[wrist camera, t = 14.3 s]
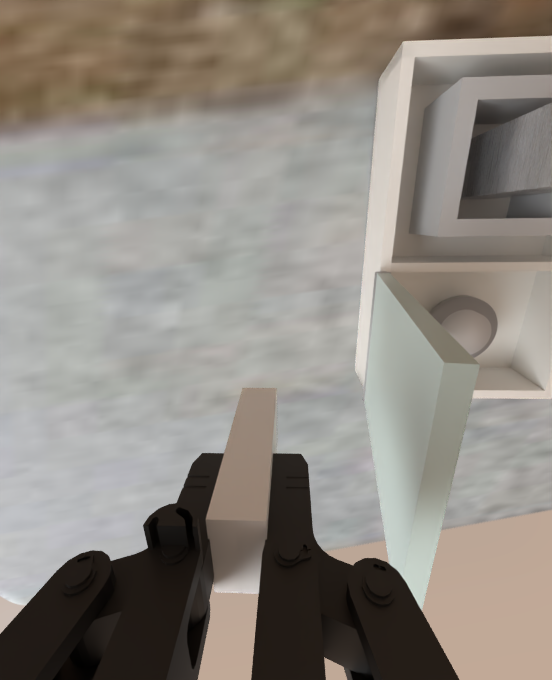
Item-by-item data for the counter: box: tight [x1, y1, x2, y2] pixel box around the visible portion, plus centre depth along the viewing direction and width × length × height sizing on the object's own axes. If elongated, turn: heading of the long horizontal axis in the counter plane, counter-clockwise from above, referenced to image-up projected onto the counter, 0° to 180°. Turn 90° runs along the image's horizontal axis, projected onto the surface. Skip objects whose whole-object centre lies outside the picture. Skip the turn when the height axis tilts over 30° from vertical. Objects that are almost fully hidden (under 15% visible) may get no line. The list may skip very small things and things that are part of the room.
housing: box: [355, 36, 552, 399], centre depth 23 cm, size 14×22×6 cm, turn 1°
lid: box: [363, 271, 480, 611], centre depth 16 cm, size 15×10×1 cm
